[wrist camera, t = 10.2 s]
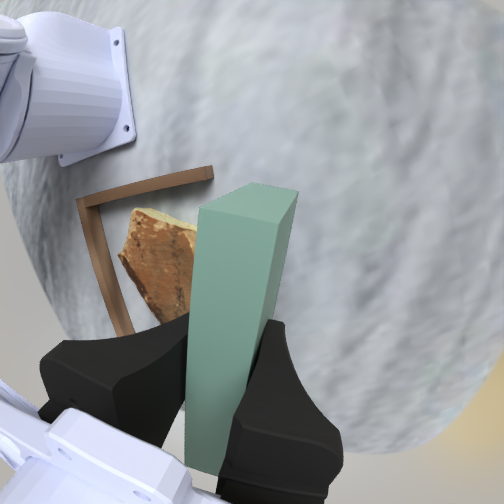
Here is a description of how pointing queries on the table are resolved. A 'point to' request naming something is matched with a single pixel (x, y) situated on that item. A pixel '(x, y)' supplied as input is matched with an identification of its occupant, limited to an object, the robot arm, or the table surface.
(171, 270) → the shard
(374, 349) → the table surface
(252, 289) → the bar
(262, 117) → the table surface
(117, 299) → the walnut frame
